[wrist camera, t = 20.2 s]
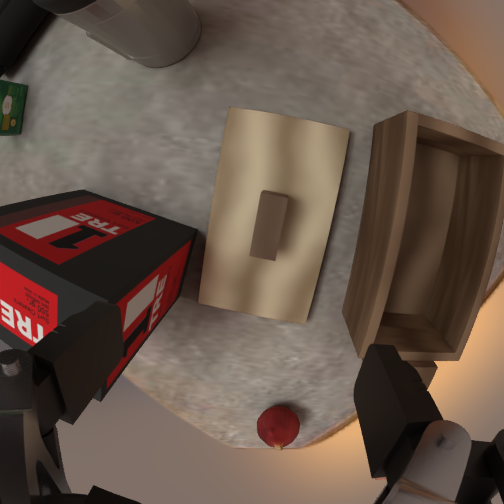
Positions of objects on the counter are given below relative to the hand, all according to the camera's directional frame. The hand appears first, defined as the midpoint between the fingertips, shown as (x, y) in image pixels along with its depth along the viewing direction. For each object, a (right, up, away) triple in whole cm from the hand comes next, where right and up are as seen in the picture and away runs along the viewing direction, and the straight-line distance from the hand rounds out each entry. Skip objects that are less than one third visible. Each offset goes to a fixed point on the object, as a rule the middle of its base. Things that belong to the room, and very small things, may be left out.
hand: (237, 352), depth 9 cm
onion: (+4, -20, +32) cm, 38 cm away
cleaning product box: (-15, +4, +27) cm, 32 cm away
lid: (+3, +7, +25) cm, 26 cm away
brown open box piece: (+18, +3, +24) cm, 30 cm away
